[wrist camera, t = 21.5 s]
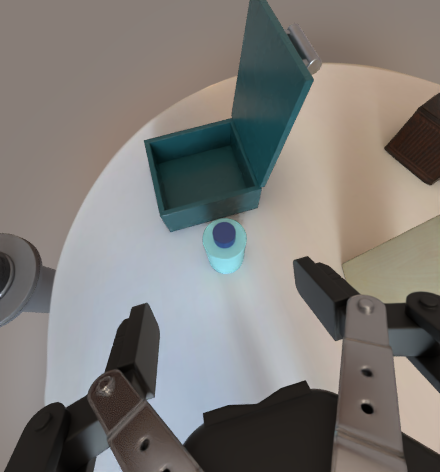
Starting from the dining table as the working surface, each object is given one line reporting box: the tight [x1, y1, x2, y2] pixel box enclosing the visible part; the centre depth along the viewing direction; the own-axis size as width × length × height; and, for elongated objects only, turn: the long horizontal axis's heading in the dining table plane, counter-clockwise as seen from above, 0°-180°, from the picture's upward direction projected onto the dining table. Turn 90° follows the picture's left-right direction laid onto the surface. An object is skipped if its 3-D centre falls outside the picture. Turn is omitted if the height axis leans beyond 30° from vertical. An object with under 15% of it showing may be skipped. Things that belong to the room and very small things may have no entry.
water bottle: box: [203, 218, 247, 274], centre depth 34 cm, size 6×6×11 cm
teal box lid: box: [231, 0, 322, 187], centre depth 31 cm, size 16×15×5 cm
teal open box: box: [144, 118, 262, 232], centre depth 41 cm, size 16×15×6 cm
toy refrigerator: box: [342, 215, 440, 303], centre depth 27 cm, size 8×7×21 cm
